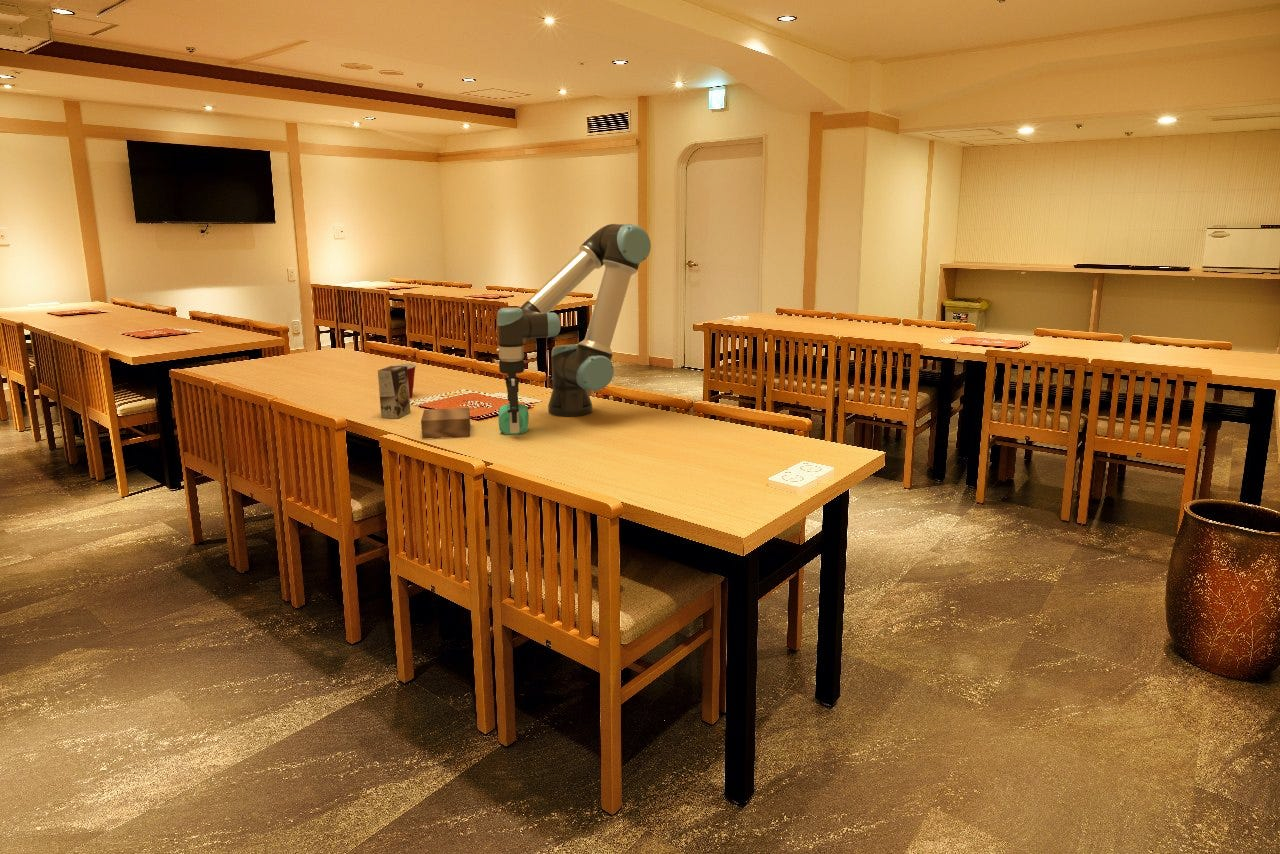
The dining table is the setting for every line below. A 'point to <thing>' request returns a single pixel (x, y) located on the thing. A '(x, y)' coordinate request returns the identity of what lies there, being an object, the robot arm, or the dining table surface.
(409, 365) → the plastic cup
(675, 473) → the dining table surface
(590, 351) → the robot arm
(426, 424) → the walnut block
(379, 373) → the coffee box
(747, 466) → the dining table surface
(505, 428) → the decorative dice
